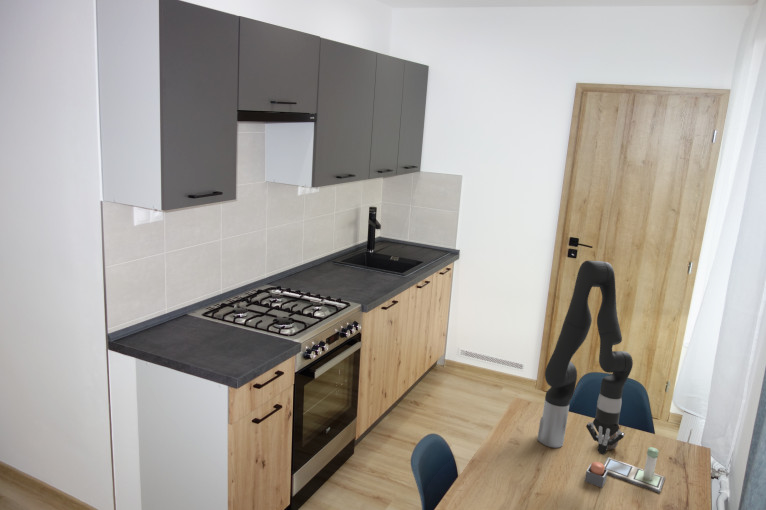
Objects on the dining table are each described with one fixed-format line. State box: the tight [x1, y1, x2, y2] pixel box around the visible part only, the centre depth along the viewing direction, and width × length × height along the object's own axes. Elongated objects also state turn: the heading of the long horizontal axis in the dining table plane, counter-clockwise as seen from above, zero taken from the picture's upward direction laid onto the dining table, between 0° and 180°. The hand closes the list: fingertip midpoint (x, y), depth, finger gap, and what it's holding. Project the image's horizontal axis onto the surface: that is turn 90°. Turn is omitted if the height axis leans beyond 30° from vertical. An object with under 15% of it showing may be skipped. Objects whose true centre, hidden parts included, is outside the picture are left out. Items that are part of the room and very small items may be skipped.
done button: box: [590, 461, 605, 476], centre depth 212 cm, size 4×4×3 cm
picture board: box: [603, 456, 666, 494], centre depth 218 cm, size 20×11×1 cm, turn 57°
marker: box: [643, 447, 660, 481], centre depth 214 cm, size 4×4×11 cm
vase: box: [603, 432, 619, 451], centre depth 235 cm, size 7×7×9 cm
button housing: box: [584, 463, 608, 489], centre depth 212 cm, size 6×6×4 cm
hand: (601, 453), depth 210 cm, fingers closed
